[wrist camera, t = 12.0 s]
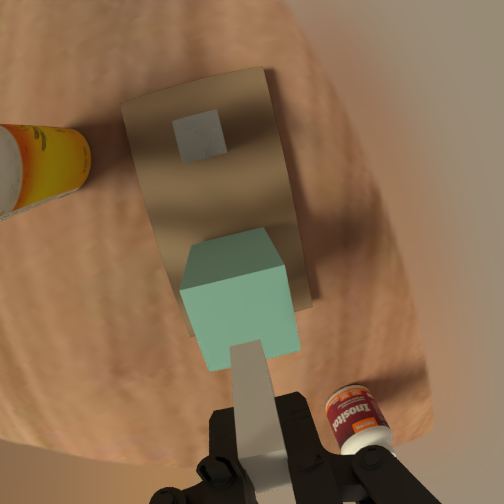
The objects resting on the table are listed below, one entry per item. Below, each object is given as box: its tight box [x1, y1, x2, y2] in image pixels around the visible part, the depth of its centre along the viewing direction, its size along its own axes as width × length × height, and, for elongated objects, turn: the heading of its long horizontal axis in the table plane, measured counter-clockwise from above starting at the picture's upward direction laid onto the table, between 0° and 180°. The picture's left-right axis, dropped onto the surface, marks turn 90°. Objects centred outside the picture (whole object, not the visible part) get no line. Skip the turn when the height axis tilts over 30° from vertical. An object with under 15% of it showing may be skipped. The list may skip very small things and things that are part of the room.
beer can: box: [0, 124, 91, 222], centre depth 17 cm, size 6×6×15 cm
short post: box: [172, 109, 227, 164], centre depth 22 cm, size 3×3×5 cm
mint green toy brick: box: [179, 227, 301, 372], centre depth 23 cm, size 6×6×9 cm
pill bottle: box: [326, 385, 396, 457], centre depth 31 cm, size 6×6×11 cm
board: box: [120, 66, 313, 337], centre depth 27 cm, size 22×12×1 cm, turn 13°
